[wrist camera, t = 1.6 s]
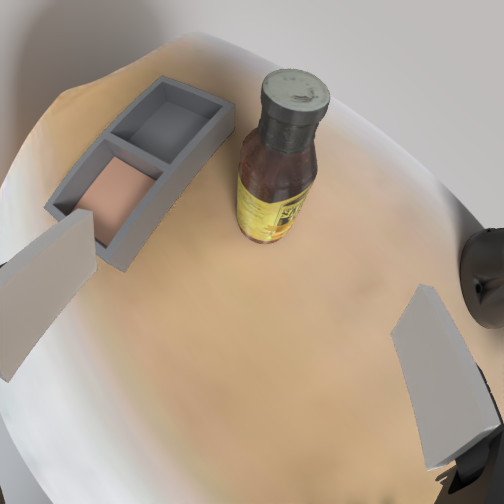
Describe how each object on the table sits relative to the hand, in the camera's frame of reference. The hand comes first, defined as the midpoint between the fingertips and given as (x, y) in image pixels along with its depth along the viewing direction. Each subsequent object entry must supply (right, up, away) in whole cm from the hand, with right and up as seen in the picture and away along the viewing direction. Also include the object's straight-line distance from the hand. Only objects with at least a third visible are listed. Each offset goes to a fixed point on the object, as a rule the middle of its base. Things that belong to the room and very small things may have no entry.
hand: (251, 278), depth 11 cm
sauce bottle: (+1, +5, +23) cm, 24 cm away
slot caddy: (-13, +11, +24) cm, 30 cm away
